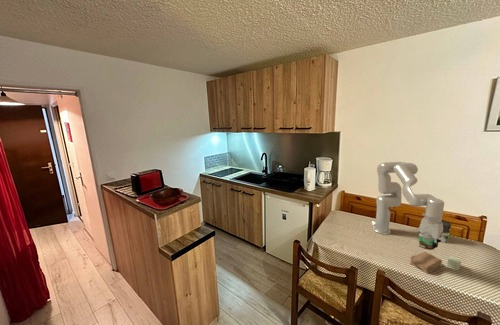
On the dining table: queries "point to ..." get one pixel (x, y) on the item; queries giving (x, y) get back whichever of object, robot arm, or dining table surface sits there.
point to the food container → (426, 241)
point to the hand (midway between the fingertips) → (428, 244)
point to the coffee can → (446, 230)
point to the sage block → (454, 263)
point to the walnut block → (426, 262)
